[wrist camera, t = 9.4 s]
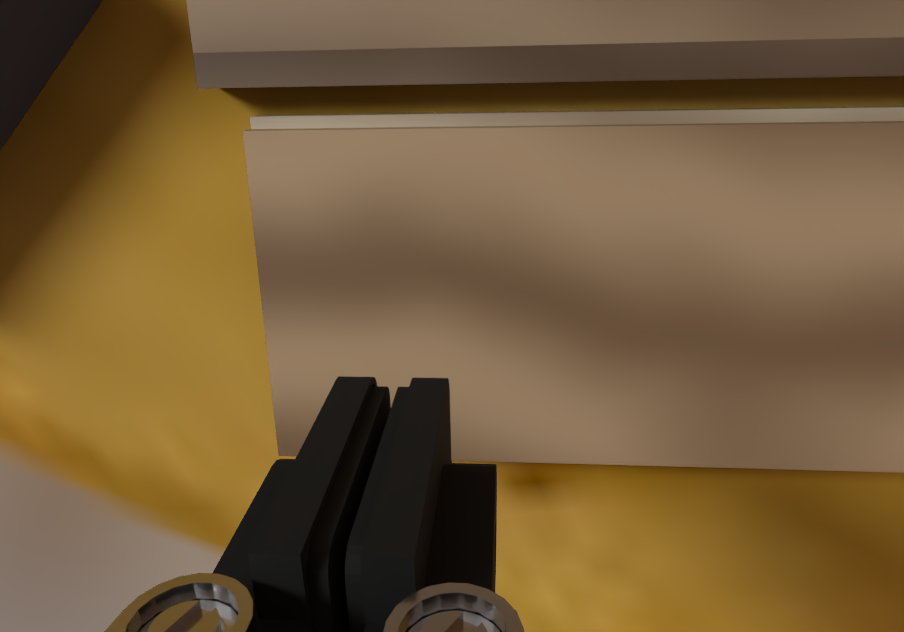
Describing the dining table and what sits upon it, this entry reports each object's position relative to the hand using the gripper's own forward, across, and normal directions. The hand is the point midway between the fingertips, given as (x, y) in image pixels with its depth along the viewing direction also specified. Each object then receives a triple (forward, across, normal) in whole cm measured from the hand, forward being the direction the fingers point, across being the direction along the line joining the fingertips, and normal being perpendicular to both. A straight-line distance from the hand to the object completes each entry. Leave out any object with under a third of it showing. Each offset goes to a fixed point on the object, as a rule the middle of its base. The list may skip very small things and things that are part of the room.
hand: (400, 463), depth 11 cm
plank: (+9, -6, 0) cm, 11 cm away
